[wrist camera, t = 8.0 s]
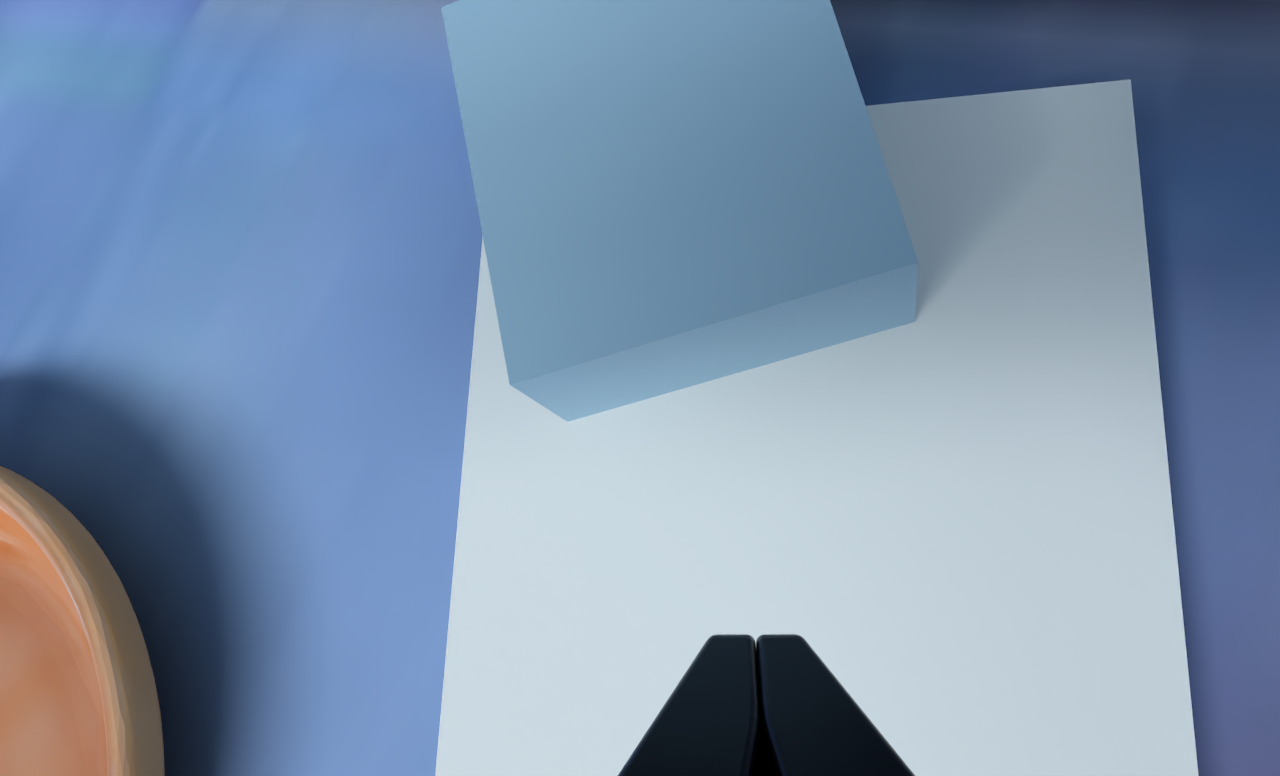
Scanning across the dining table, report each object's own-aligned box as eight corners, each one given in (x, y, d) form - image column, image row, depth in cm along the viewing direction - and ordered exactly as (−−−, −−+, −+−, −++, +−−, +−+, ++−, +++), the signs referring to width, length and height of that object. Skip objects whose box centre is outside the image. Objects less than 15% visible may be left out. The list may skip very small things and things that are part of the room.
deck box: (918, 261, 15) (787, -128, 17) (509, 384, 16) (440, 7, 18) (914, 321, 18) (802, -20, 20) (567, 421, 19) (501, 90, 21)
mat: (1195, 856, 15) (1207, 865, 14) (447, 786, 18) (433, 790, 18) (1123, 96, 18) (1130, 79, 18) (501, 156, 22) (490, 143, 21)
